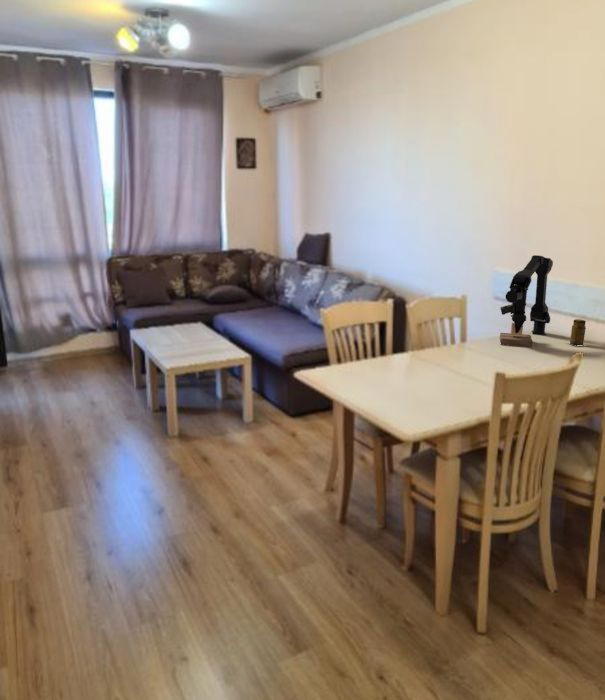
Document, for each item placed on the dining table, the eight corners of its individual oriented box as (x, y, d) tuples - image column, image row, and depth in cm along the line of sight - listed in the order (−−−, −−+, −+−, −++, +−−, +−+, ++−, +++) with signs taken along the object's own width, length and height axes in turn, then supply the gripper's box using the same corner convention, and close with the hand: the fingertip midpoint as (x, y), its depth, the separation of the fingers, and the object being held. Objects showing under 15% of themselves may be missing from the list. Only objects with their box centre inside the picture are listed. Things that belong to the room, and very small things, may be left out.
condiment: (578, 342, 297) (581, 318, 294) (589, 346, 289) (593, 322, 286) (565, 343, 295) (568, 319, 292) (576, 347, 287) (579, 322, 284)
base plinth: (499, 338, 302) (500, 332, 301) (529, 340, 299) (529, 334, 298) (500, 344, 289) (501, 338, 288) (531, 347, 286) (532, 341, 285)
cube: (510, 332, 296) (511, 322, 294) (521, 333, 294) (522, 323, 293) (511, 334, 291) (512, 324, 290) (522, 335, 290) (523, 325, 289)
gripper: (501, 296, 299) (498, 326, 303) (502, 302, 282) (499, 334, 286) (525, 297, 296) (521, 328, 300) (528, 303, 279) (524, 336, 283)
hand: (516, 331), depth 293 cm, fingers closed on cube, 5 cm apart
